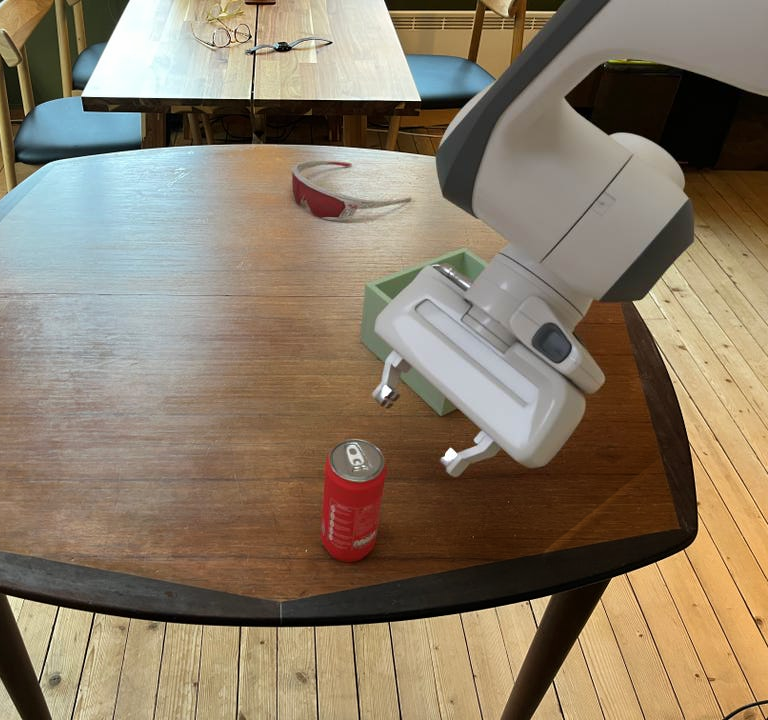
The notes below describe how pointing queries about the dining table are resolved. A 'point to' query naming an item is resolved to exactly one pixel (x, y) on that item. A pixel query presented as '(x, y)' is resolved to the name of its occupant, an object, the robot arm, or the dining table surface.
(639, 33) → the robot arm
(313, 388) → the dining table surface
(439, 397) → the bin
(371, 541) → the beverage can
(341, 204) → the sunglasses
